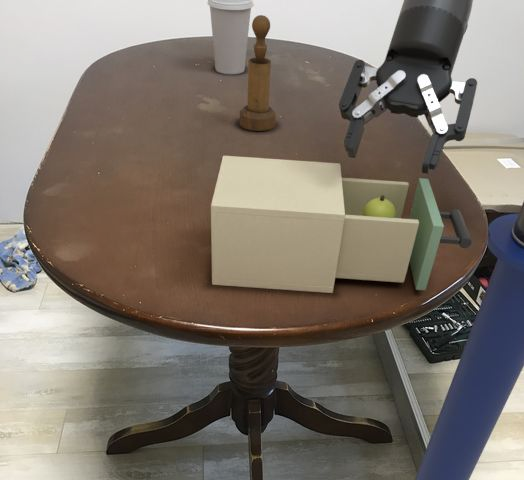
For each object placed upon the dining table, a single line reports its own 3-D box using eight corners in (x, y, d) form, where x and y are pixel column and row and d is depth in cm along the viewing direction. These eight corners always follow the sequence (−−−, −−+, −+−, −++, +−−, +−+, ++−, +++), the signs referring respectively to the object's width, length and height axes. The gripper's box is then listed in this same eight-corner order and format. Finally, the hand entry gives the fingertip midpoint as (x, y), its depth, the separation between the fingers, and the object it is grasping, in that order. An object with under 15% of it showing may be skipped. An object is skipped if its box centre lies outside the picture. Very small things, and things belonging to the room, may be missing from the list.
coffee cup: (212, 77, 127) (211, -2, 117) (205, 63, 134) (203, -13, 124) (255, 76, 129) (258, -2, 119) (246, 62, 136) (248, -13, 126)
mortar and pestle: (265, 116, 112) (271, 10, 100) (281, 129, 108) (288, 19, 96) (233, 120, 110) (235, 12, 98) (248, 133, 106) (251, 22, 94)
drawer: (446, 241, 80) (464, 181, 74) (462, 293, 72) (484, 229, 66) (313, 232, 80) (320, 171, 74) (313, 282, 72) (322, 217, 66)
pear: (391, 242, 77) (404, 185, 72) (395, 266, 73) (409, 208, 68) (348, 239, 77) (358, 182, 72) (350, 263, 73) (360, 205, 68)
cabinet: (329, 237, 81) (340, 163, 74) (332, 293, 72) (345, 214, 65) (223, 230, 82) (223, 155, 74) (212, 284, 72) (210, 205, 65)
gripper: (366, -5, 64) (321, 136, 64) (500, 12, 60) (453, 162, 60) (372, 36, 71) (331, 163, 71) (492, 54, 68) (449, 188, 67)
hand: (387, 162), depth 66 cm, fingers open, 8 cm apart
